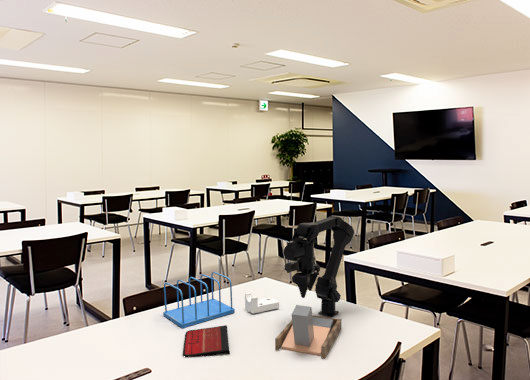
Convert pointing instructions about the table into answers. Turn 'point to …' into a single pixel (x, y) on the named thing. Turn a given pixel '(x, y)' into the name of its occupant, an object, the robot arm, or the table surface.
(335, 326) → the flap frame
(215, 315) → the file sorter
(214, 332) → the binder
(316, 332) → the flap
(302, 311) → the stone block
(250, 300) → the bracket
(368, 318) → the table surface
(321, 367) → the table surface
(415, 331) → the table surface
